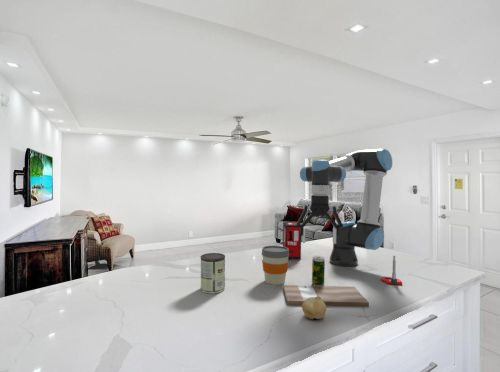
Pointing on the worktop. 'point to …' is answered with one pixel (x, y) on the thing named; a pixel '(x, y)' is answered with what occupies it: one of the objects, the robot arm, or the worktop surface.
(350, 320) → the worktop surface
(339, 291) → the walnut board
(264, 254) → the reusable coffee cup
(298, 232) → the cleaning product box
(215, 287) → the coffee can
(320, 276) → the beer can
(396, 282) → the tow hook
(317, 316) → the onion
